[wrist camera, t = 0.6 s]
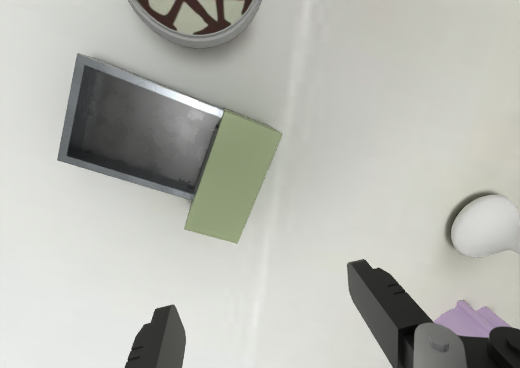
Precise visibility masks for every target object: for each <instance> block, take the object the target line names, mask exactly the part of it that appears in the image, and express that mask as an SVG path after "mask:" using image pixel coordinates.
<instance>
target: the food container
mask: <svg viewBox="0 0 520 368" xmlns="http://www.w3.org/2000/svg"><path fill="white" fill-rule="evenodd" d="M128 1H129V3H130V5H131V6H132V8H133V10H134V11H135V12H136V13H137V15H138V16H139V17H140V18H141V19H142V21H143V22H144V23H146V24H147V25H148V26H149V27H150V28H151V29H152V30H153V31H155V32H156V33H157V34H159V35H160V36H162V37H163V38H165V39H167V40H169V41H171V42H173V43H176V44H179V45H182V46H186V47H192V48H208V47H214V46H218V45H221V44H223V43H226V42H228V41H230V40H231V39H233V38H234V37H236V36H237V35H238V34H240V33H241V32H242V31H243V30H244V29H245V28H246V27H247V26H248V24H249V23H250V22H251V21H252V19H253V18H254V16H255V14H256V13H257V11H258V9H259V6H260V4H261V1H262V0H128Z"/></svg>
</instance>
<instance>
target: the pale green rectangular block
mask: <svg viewBox="0 0 520 368" xmlns="http://www.w3.org/2000/svg"><path fill="white" fill-rule="evenodd" d="M281 137H282V133H280V132H278V131H277V130H275V129H274V128H272V127H270V126H268V125H265V124H263V123H260V122H258V121H255V120H253V119H250V118H248V117H245V116H243V115H240V114H238V113H235V112H233V111H230V110H228V109H225V108H224V112H223V115H222V118H221V119H220V122H219V125H218V124H216V127H215V129H214V132H213V135H212V138H211V141H210V144H209V147H208V150H207V153H206V156H205V159H204V162H203V165H202V167H201V170H200V173H199V176H198V179H197V182H196V185H195V189H194V193H193V195H195V196H194V199H193V201H192V203H191V206H190V209H189V213H188V217H187V220H186V224H185V228H184V229H185V230H189V231H193V232H196V233H200V234H204V235H207V236H211V237H215V238H219V239H222V240H226V241H230V242H233V243H238V241H239V239H240V236H241V234H242V231H243V229H244V227H245V224H246V222H247V219H248V217H249V214H250V212H251V210H252V207H253V205H254V202H255V200H256V197H257V195H258V193H259V190H260V188H261V185H262V183H263V180H264V178H265V176H266V173H267V171H268V168H269V166H270V164H271V161H272V159H273V156H274V154H275V151H276V149H277V147H278V144H279V142H280V139H281Z"/></svg>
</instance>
